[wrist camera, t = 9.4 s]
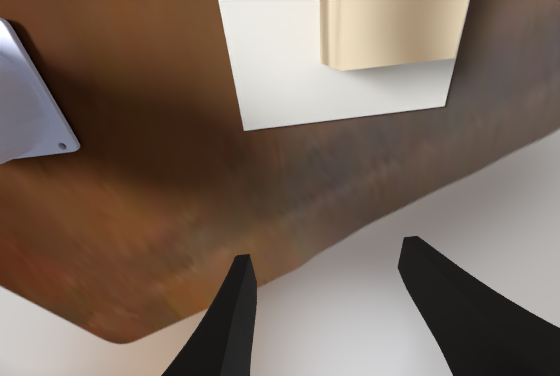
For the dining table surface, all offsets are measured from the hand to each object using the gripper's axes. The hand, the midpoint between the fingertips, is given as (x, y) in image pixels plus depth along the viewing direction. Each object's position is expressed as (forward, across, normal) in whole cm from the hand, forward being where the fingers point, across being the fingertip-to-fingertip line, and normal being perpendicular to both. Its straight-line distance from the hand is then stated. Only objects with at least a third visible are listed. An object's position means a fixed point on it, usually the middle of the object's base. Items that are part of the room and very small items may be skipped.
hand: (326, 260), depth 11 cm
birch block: (+9, -4, -10) cm, 14 cm away
